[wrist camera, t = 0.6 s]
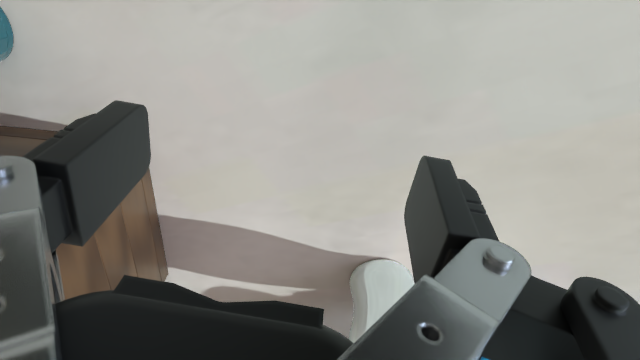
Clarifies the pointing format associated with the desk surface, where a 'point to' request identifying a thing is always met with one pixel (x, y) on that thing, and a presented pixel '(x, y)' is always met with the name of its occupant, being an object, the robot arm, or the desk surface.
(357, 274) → the beer glass
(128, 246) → the shelf rack
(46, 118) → the desk surface
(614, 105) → the desk surface
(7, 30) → the cup
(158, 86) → the desk surface
